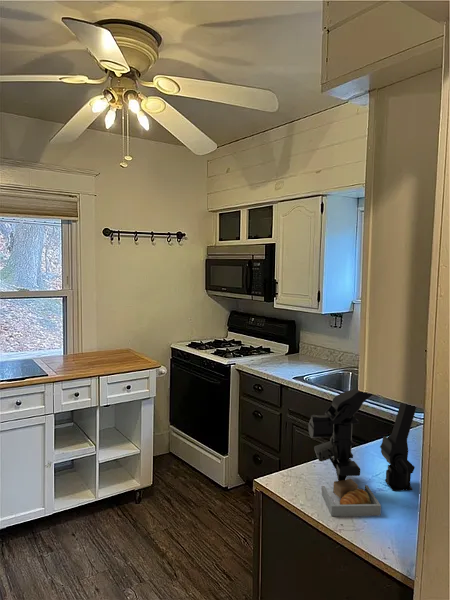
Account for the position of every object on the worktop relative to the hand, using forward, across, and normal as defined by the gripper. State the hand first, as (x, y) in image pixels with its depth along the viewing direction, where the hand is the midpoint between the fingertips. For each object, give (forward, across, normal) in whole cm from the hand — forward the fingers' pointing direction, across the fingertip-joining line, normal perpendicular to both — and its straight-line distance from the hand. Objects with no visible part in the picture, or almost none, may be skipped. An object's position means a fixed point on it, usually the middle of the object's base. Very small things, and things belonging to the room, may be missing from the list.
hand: (340, 483), depth 146 cm
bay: (+2, +9, 0) cm, 9 cm away
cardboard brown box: (+2, +4, 0) cm, 4 cm away
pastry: (+2, +9, +2) cm, 10 cm away
